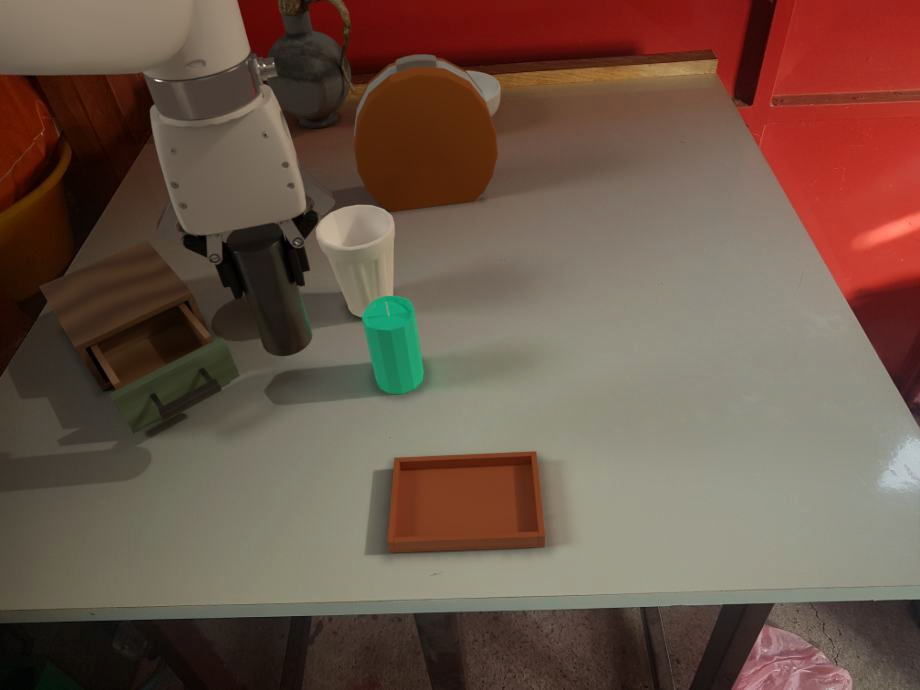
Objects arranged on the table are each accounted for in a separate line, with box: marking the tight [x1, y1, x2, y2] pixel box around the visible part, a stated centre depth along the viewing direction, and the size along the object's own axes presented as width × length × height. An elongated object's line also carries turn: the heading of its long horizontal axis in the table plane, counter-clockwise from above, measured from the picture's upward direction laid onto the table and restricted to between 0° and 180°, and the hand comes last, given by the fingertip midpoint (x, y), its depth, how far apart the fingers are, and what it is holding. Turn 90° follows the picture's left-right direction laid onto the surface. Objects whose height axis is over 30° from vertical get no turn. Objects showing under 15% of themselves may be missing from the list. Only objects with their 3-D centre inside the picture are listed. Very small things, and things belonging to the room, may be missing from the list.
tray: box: [386, 450, 546, 554], centre depth 71 cm, size 15×10×2 cm
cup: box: [315, 204, 396, 318], centre depth 91 cm, size 10×10×13 cm
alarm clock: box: [353, 53, 499, 212], centre depth 109 cm, size 22×10×23 cm, turn 97°
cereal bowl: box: [466, 70, 502, 118], centre depth 132 cm, size 17×17×7 cm
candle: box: [361, 295, 425, 395], centre depth 81 cm, size 6×6×12 cm
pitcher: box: [266, 0, 358, 129], centre depth 128 cm, size 11×19×30 cm, turn 66°
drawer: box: [90, 303, 241, 434], centre depth 84 cm, size 19×14×6 cm
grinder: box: [225, 222, 313, 357], centre depth 63 cm, size 5×5×12 cm
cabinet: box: [38, 240, 211, 392], centre depth 92 cm, size 16×15×8 cm
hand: (269, 282), depth 62 cm, fingers closed on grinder, 4 cm apart
